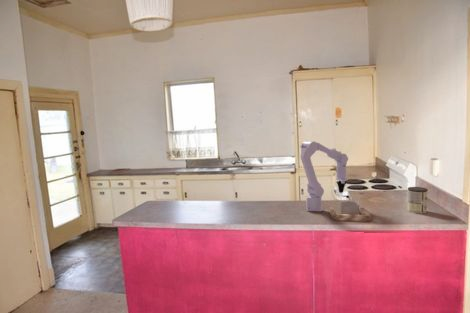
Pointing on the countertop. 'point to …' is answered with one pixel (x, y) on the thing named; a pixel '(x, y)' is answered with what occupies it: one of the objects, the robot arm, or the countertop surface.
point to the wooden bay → (351, 215)
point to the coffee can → (417, 200)
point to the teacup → (349, 207)
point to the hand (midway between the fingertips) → (341, 192)
